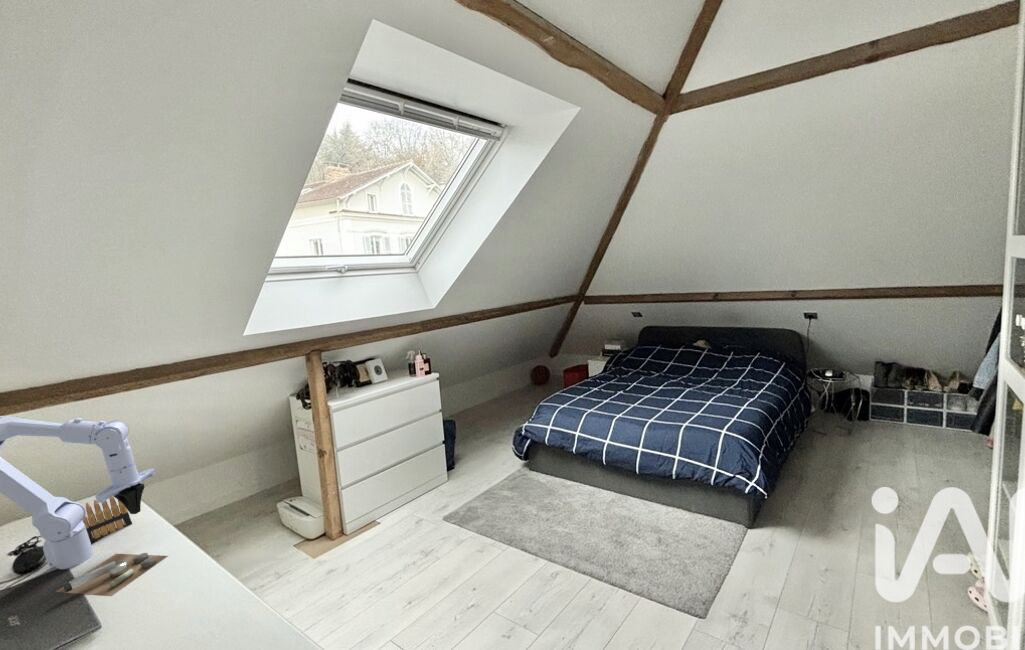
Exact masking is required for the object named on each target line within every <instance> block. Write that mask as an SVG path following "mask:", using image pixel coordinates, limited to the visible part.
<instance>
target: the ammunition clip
mask: <svg viewBox="0 0 1025 650" xmlns="http://www.w3.org/2000/svg"><path fill="white" fill-rule="evenodd" d="M117 502H118V504H117ZM117 502H116V498H115V497H114V496H113V497H111V498H109V504H110V506H109V504H108V502H107V500H106V501H105V502H103V503H101V506H102V508H101V506H100V503H97V501H96V499H94V500H93V509H94V511H93V509H92V506H91V505H90V503H88V502H86V504H85V509H86V514H87V516H86V515H85V517H84V518H83V523H84V524H85V527H86V530H87V533H88V536H89V539H90V542H91V546H92V545H93V544H95V543H97V542H99V541H100V540H102V539H104V538H105V537H107V536H109V535H111V534H112V533H114V532H115V531H118V530H121V529H124V528H125V527H128V526H132V525H133V522H132V519H131V517H130V512H129V511H128V509H127V508H126V507H125V506H124V505H123V504H122V503H121V502H120V501H119V500H118V499H117Z"/></svg>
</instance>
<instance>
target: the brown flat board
mask: <svg viewBox="0 0 1025 650" xmlns="http://www.w3.org/2000/svg"><path fill="white" fill-rule="evenodd" d="M167 557H169V555H155V554H148V552H143V553H140V554H134V553H133V554H131V553H130V554H129V553H115V554H113V555H112V556H109V557H108V558H107V559H105V560H104V561H102V562H100V563H99V564H97V565H95V566H94V567H92V568H91V569H90V570H88V571H86V572H84V573H83V574H82V575H85V574H87V573H89V572H91V571H93V570H95V569H98V568H100V567H102V566H104V565H106V564H109V563H111V562H113V561H115V563H117V562H120V561H127V564H128V568H129V570H128V571H127V572H125V573H124V574H122V575H121V576H119V577H116V578H111V577H110V574H109V572H108V573H106V574H104V575H102V576H100V577H98V578H96V579H93V580H91V581H89V582H87V583H85V584H83V585H81V586H78V587H76V588H74V589H72V590H71V591H68V592H64V589H63V586H61V588H59V589H58V590H56V591H55V593H64V594H76V595H87V596H89V595H91V596H104V597H112V596H114V595H115V594H117V593H118V592H119V591H121V590H123V588H126V587H127V586H128V585H129V584H131V583H132V582H134V581H135V580H136V579H138V578H140V577H141V576H142V575H144V574H145V573H146V572H147V571H149V570H151V569H152V568H154V567H155V566H157V564H159V563H160V562H162V561H163V560H165V559H166V558H167ZM82 575H80V576H82Z"/></svg>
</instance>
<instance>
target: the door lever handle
mask: <svg viewBox="0 0 1025 650" xmlns="http://www.w3.org/2000/svg"><path fill="white" fill-rule="evenodd" d="M128 570H129V568H128V564H127V561H120V562H117V563H115V561H113V562H111V563H109V564H106V565H104V566H102V567H100V568H98V569H95V570H93V571H91V572H89V573H87V574H85V573H84V574H85V575H83V574H82V576H81V575H80V576H78V577H76V578H73V579H72V580H66V581H65V582H63V583H62V586H61V587H63V589H64V592H68V591H71V590H72V589H74V588H76V587H78V586H81V585H83V584H85V583H87V582H89V581H91V580H93V579H96V578H98V577H100V576H102V575H104V574H106V573H108V572H109V574H110V577H111V578H116V577H119V576H121V575H122V574H124V573H125V572H127V571H128Z"/></svg>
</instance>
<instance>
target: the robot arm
mask: <svg viewBox="0 0 1025 650" xmlns="http://www.w3.org/2000/svg"><path fill="white" fill-rule="evenodd" d="M129 432H130V428H129V425H127V423H125V422H123V421H120V420H117V419H115V420H110V421H108V422H106V421H105V420H100V421H90V420H89V421H88V420H84V418H82V417H76V418H75V419H70V420H67V421H66V422H64V423H62V422H61V423H59V422H52V421H45V420H36V419H29V418H28V419H27V418H21V417H16V416H12V415H7V416H6V415H4V416H2V415H0V455H1V454H2V449H3V444H4V443H5V441H6V440H7V439H10V438H11V439H12V438H14V437H16V436H22V437H23V436H24V437H27V436H28V437H51V438H52V437H53V438H55V437H57V438H58V439H60V441H62V442H64V443H70V444H71V443H72V444H82V445H83V444H85V445H95V446H97V448H100V449H101V450H102V454H103V458H104V462H105V465H106V468H107V469H106V470H107V471H108V475H109V478H110V482H111V485H110V486H109V487H107V488H106V489H104V490H103V491H101V492H99V493H98V494H95V496H94V497H95V500H96V501H97V503H99V504H102V503H103V502H105V501H107V500H108V499H109V498H111V497H114V499H115V500H117V501H118V500H119V501H120V502H121V503H122V504H123V505H124V506H125V507H126V508H127V510H128V513H129V515H137V514H139V513H140V512H141V507H142V506H141V503H142V496H143V492H144V489H145V484H144V483H141V482H144V481H145V480H147V479H149V478H151V477H155V476H157V473H156V470H155V468H148V469H146V470H143V471H141V472H138V468H137V465H136V461H135V458H134V454H133V451H132V447H131V445H130V442H129V439H128V436H129ZM0 494H2V495H3V496H5V497H6V498H8V499H9V500H11V501H12V502H13V503H15V504H16V505H17V506H19V507H20V508H21V509H23V510H24V511H26V512H27V513H28V514H29V515H31V520H32V521H31V524H32V527H34V528H35V529H37V530H38V532H39V535H40V537H41V538H43V540H44V543H43V547H42V550H43V553H44V557H45V559H46V562H47V565H48V569H47V570H45V572H48V571H49V570H50V569H53V568H57V569H59V570H66V569H71V568H73V567H76V566H79V565H81V564H82V563H85V562H86V561H88V560H89V559H90V558H92V557H93V556H94V554H95V552H94V549H93V547H92V545H91V542H90V539H89V536H88V533H87V530H86V527H85V524H84V523H83V518H84V517H85V516H86V514H87V511H86V506H84V505H83V504H82V503H80V502H77V501H72V500H70V499H68V498H67V497H65V496H64V497H63V496H54V495H53V494H52V493H50V491H47V490H46V489H45V488H44V487H42V486H41V485H40V484H38V483H37V482H35V481H34V480H33V479H31V478H30V477H28V476H27V475H26V474H24V473H23V472H22V471H20V470H19V469H18V468H16V466H14V465H12V464H11V463H10V462H8V461H7V460H5V459H4V458H3V457H2V456H0ZM109 500H110V499H109Z"/></svg>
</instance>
